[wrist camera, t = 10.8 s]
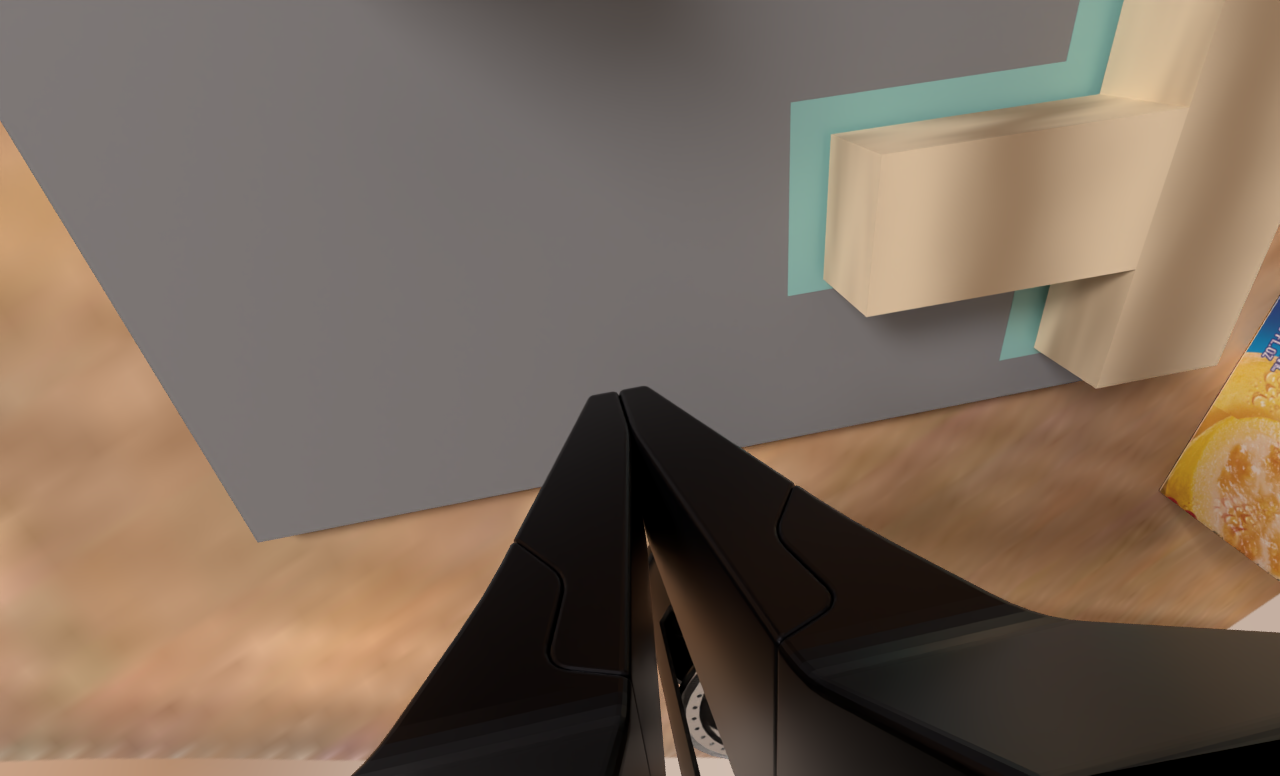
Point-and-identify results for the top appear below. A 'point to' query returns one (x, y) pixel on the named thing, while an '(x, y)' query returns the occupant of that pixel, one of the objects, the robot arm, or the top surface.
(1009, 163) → the maple T-block
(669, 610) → the french press
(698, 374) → the board
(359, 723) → the top surface
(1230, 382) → the beverage box
